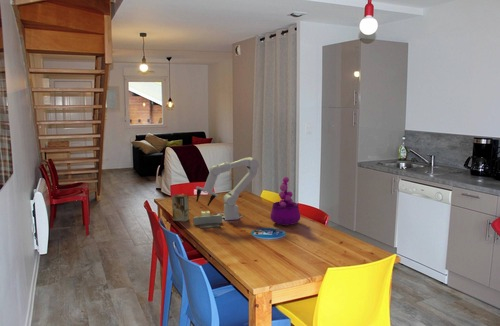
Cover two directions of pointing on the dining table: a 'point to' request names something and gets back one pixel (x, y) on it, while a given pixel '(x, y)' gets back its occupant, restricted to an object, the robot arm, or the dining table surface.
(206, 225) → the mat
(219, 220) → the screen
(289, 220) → the decorative plant
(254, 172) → the robot arm
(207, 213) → the letter block
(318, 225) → the dining table surface
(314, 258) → the dining table surface
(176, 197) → the coffee box
